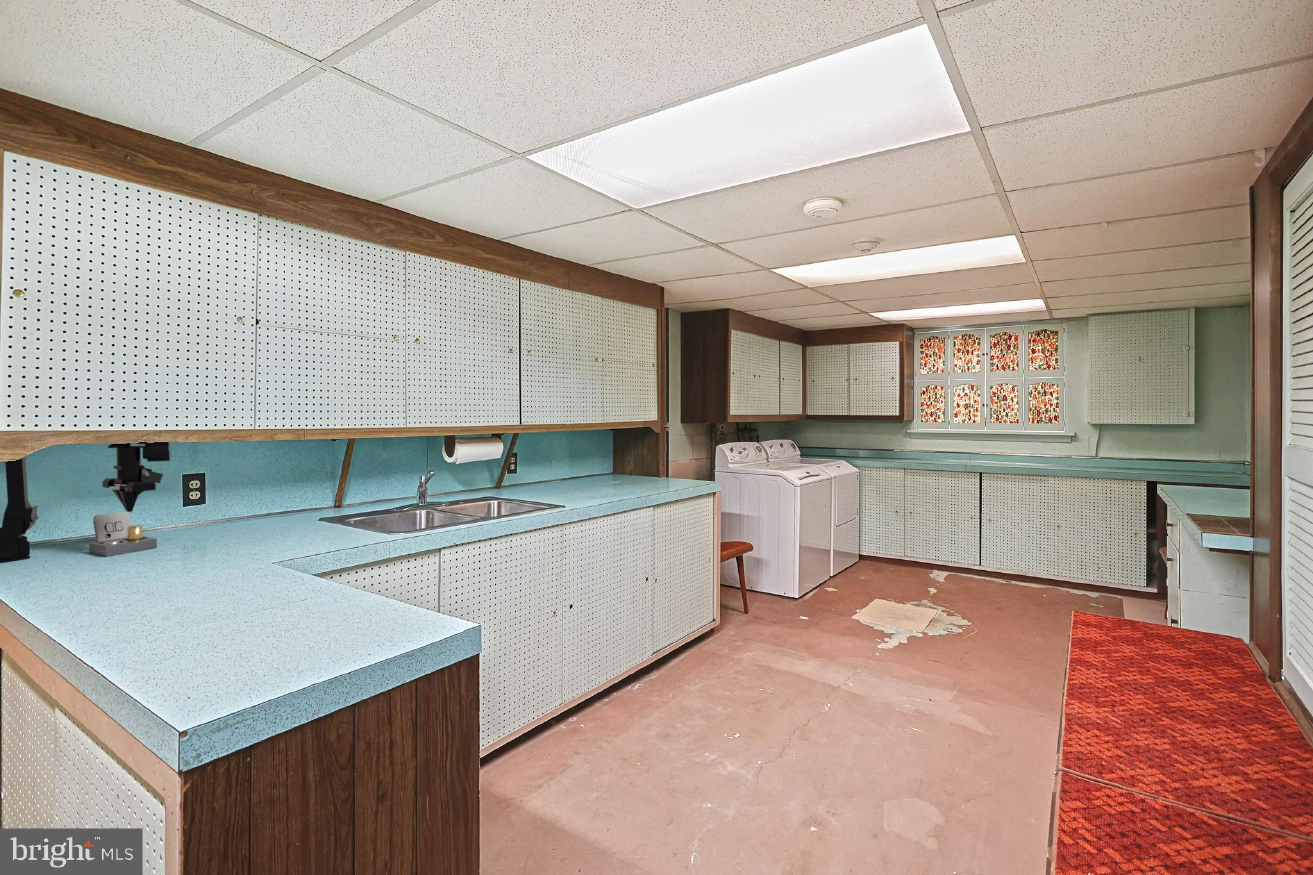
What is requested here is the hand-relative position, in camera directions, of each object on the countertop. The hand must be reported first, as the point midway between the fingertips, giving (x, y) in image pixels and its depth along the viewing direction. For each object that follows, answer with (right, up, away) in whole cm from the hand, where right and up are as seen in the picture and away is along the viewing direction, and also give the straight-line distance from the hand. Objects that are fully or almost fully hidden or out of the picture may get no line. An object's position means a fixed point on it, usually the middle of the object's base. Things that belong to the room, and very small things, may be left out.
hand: (129, 511), depth 194 cm
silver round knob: (-2, -12, -4) cm, 13 cm away
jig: (0, -12, -2) cm, 12 cm away
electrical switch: (-15, -11, +11) cm, 22 cm away
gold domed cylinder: (+1, -12, +1) cm, 12 cm away
